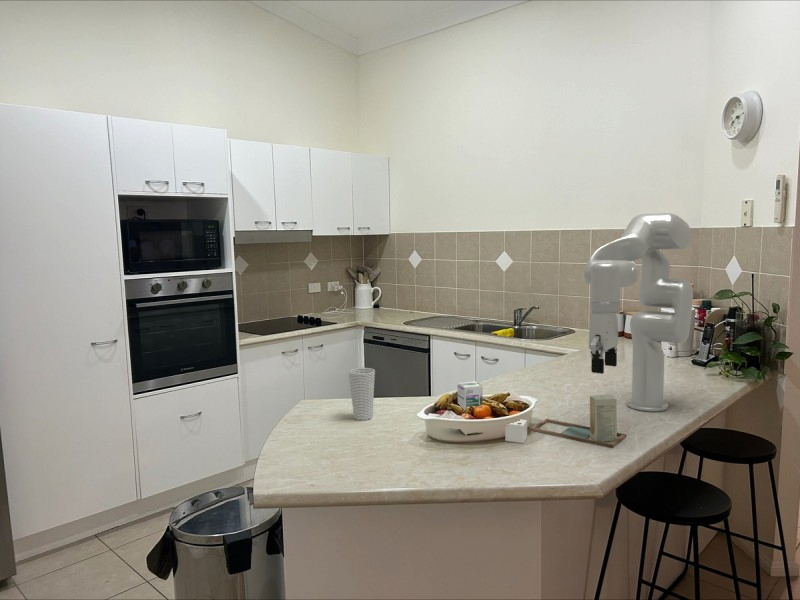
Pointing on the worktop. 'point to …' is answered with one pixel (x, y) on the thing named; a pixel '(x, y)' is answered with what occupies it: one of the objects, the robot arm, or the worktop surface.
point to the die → (516, 431)
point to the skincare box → (603, 418)
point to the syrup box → (470, 394)
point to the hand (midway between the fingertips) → (604, 369)
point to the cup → (362, 392)
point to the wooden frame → (575, 433)
